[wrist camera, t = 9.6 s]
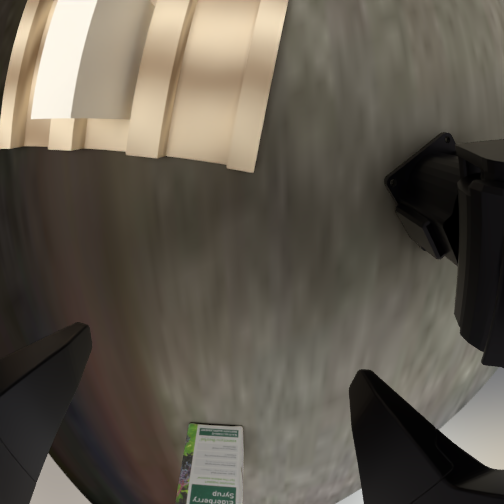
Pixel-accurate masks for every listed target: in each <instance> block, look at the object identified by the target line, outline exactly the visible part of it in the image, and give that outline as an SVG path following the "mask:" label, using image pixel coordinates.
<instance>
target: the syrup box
mask: <svg viewBox="0 0 504 504" xmlns="http://www.w3.org/2000/svg"><path fill="white" fill-rule="evenodd" d="M243 459H244V445H243V428H242V426H216V425H201V424H194V423H190V424H189V427H188V432H187V438H186V443H185V449H184V455H183V461H182V467H181V473H180V479H179V485H178V491H177V497H176V503H175V504H242V501H243Z"/></svg>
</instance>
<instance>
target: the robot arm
mask: <svg viewBox="0 0 504 504" xmlns="http://www.w3.org/2000/svg"><path fill="white" fill-rule="evenodd" d="M445 137H447V142H445ZM392 179H394V184H393V185H392V186H391V185H390V181H391V180H392ZM385 186H386V188H387V189H388V191H389V192H390V194H391V196H392V198H393V199H394V201H395V203H396V204H397V206H396V210H395V211H396V213H397V215H398V217H399V218H400V220H401V222H402V224H403V226H404V227H405V229H406V231H407V233H408V235H409V236H410V238H411V239H413V240H414V241H415V242H416V243H418V245H419V247H420V248H421V249H422V250H424V251H428V252H429V253H430V254H431V255H432V256H434V257H435V258H436V259H442V258H443V257H444V256H446V257H447V258H448V259H449V260H451V261H452V262H453V263H454V264H456V265H457V266H458V274H457V287H456V298H455V310H454V315H455V317H456V320H457V322H458V325H459V327H460V334H461V336H462V337H463V338H464V339H465V340H466V341H467V342H468V343H469V344H471V345H473V346H474V347H476V348H477V349H479V350H480V351H482V352H484V354H483V357H482V360H481V363H482V364H483V365H488V366H497V367H502V368H504V139H500V140H489V141H480V142H471V143H462V144H456V143H455V141H454V139H453V137H452V136H451V134H449V133H445V132H443V133H441V134H440V135H439V136H437V137H436V138H435V139H434V140H432V141H431V142H430V143H429V144H427V145H426V146H425V147H423V148H422V149H421V150H420V151H418V152H417V153H416V154H415V155H413V156H412V157H411V158H410V159H408V160H407V161H406V162H404V163H403V164H402V165H401V166H399V167H398V168H397V169H395V170H394V171H393V172H392V173H390V174H389V175H388V176H387V177H386V178H385ZM91 350H92V340H91V333H90V328H89V326H88V325H87V324H83V323H80V322H77V323H74V324H72V325H70V326H68V327H66V328H64V329H62V330H60V331H58V332H56V333H53V334H51V335H49V336H47V337H45V338H43V339H41V340H39V341H37V342H35V343H33V344H31V345H28V346H26V347H24V348H22V349H20V350H18V351H16V352H14V353H12V354H10V355H8V356H6V357H4V358H2V359H0V504H29V503H30V500H31V497H32V494H33V491H34V489H35V486H36V482H37V480H38V477H39V475H40V472H41V469H42V467H43V464H44V462H45V459H46V457H47V454H48V452H49V449H50V447H51V445H52V442H53V440H54V438H55V435H56V433H57V431H58V428H59V426H60V424H61V422H62V420H63V417H64V415H65V413H66V411H67V409H68V406H69V404H70V402H71V400H72V398H73V396H74V394H75V392H76V390H77V387H78V385H79V382H80V380H81V377H82V374H83V371H84V369H85V366H86V363H87V361H88V358H89V355H90V353H91ZM349 399H350V412H351V425H352V433H353V439H354V444H355V450H356V456H357V462H358V468H359V474H360V480H361V487H362V494H363V500H364V504H504V470H497V469H492V468H489V467H487V466H485V465H483V464H482V463H481V462H479V461H478V460H476V459H475V458H474V457H472V456H471V455H469V454H468V453H467V452H465V451H464V450H462V449H461V448H459V447H458V446H457V445H456V444H454V443H453V442H452V441H451V440H449V439H448V438H447V437H446V436H445V435H444V434H442V433H441V432H440V431H439V430H438V429H436V428H435V427H434V426H433V425H432V424H431V423H430V422H429V421H428V420H426V419H425V418H424V417H423V416H422V415H421V414H420V413H419V412H417V411H416V410H415V409H414V408H413V407H412V406H411V405H410V404H408V403H407V402H406V401H405V400H404V399H403V398H402V397H401V396H399V395H398V394H397V393H396V392H395V391H394V390H393V389H392V388H390V387H389V386H388V385H387V384H386V383H385V382H384V381H383V380H382V379H380V378H379V377H378V376H377V375H376V374H375V373H374V372H373V371H371V370H366V369H361V370H359V371H358V372H357V374H356V376H355V377H354V379H353V381H352V383H351V385H350V387H349Z"/></svg>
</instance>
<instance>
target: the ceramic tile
mask: <svg viewBox="0 0 504 504" xmlns="http://www.w3.org/2000/svg"><path fill="white" fill-rule="evenodd" d="M154 9H155V6H154V5H153V4H152V2H151V1H150V0H58V2H57V5H56V7H55V10H54V13H53V16H52V20H51V23H50V26H49V30H48V33H47V37H46V40H45V44H44V48H43V52H42V56H41V61H40V65H39V70H38V75H37V80H36V86H35V92H34V98H33V105H32V113H31V119H55V118H96V119H126V120H130V118H131V112H132V105H133V100H134V94H135V88H136V83H137V78H138V73H139V68H140V64H141V59H142V55H143V51H144V46H145V42H146V38H147V34H148V31H149V27H150V23H151V20H152V16H153V13H154Z"/></svg>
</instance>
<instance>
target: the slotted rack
mask: <svg viewBox="0 0 504 504" xmlns="http://www.w3.org/2000/svg"><path fill="white" fill-rule="evenodd" d="M150 1H151V2H152V4H153V5H154V6H155V9H154V13H153V16H152V20H151V23H150V27H149V31H148V34H147V38H146V42H145V46H144V51H143V55H142V59H141V64H140V68H139V73H138V78H137V83H136V88H135V94H134V100H133V105H132V112H131V118H130V120H126V119H96V118H55V119H31V113H32V105H33V98H34V92H35V86H36V80H37V75H38V70H39V65H40V61H41V56H42V52H43V48H44V44H45V40H46V37H47V33H48V30H49V26H50V23H51V20H52V16H53V13H54V10H55V7H56V5H57V2H58V0H54V1H53V0H28V1H27V4H26V7H25V9H24V12H23V15H22V18H21V22H20V25H19V28H18V32H17V35H16V39H15V42H14V46H13V50H12V54H11V59H10V63H9V68H8V73H7V78H6V83H5V89H4V96H3V103H2V110H1V119H0V149H11V148H16V147H21V146H47V147H48V150H69V151H72V150H77V149H83V148H87V149H101V150H114V151H125V152H126V155H131V156H141V157H150V158H160V157H164V156H170V157H178V158H185V159H192V160H199V161H206V162H213V163H219V164H225V165H227V168H228V169H234V170H240V171H245V172H251V173H254V168H255V163H256V157H257V152H258V147H259V142H260V137H261V132H262V127H263V122H264V116H265V111H266V106H267V101H268V96H269V91H270V86H271V81H272V77H273V72H274V67H275V62H276V57H277V52H278V47H279V42H280V38H281V33H282V28H283V23H284V19H285V14H286V9H287V4H288V0H150Z"/></svg>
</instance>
